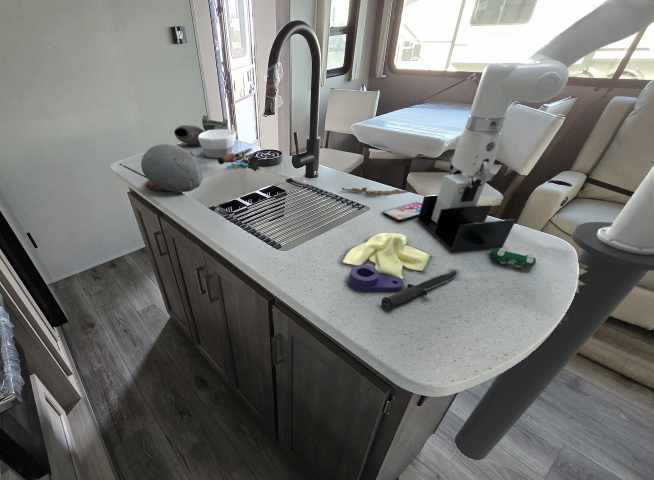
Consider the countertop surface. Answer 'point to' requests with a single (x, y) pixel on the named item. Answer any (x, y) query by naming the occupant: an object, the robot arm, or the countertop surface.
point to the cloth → (388, 254)
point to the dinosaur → (242, 156)
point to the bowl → (217, 142)
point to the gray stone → (171, 168)
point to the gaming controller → (513, 257)
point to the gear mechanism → (239, 162)
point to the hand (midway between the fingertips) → (458, 195)
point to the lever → (373, 280)
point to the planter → (188, 134)
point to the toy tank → (213, 124)
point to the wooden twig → (377, 192)
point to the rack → (464, 227)
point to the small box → (454, 193)
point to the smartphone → (404, 212)
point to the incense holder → (149, 181)
